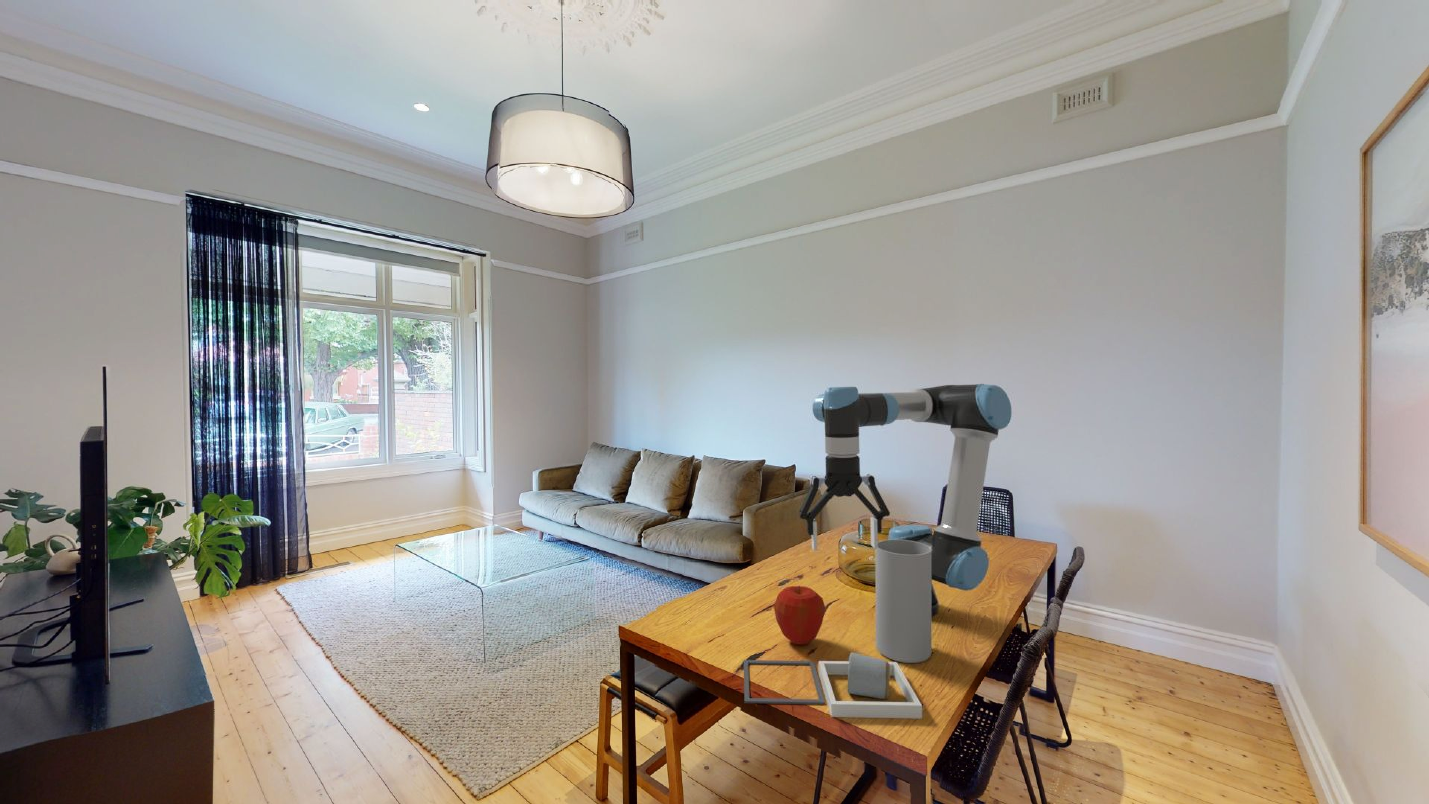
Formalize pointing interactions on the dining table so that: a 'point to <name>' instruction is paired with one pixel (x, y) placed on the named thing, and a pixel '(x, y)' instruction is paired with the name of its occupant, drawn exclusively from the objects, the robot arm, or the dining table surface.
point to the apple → (799, 613)
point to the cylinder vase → (903, 600)
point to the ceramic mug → (868, 676)
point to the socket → (869, 708)
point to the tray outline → (782, 701)
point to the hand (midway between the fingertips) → (844, 547)
